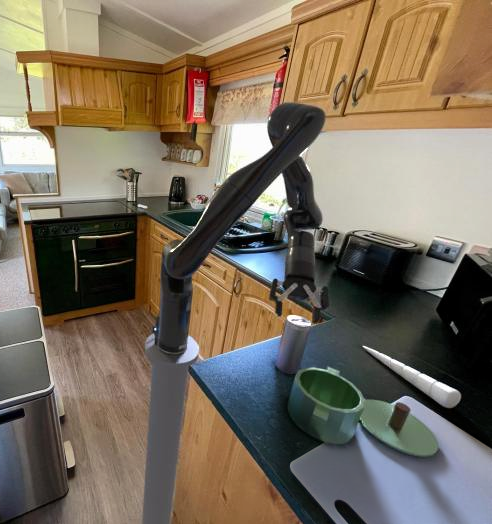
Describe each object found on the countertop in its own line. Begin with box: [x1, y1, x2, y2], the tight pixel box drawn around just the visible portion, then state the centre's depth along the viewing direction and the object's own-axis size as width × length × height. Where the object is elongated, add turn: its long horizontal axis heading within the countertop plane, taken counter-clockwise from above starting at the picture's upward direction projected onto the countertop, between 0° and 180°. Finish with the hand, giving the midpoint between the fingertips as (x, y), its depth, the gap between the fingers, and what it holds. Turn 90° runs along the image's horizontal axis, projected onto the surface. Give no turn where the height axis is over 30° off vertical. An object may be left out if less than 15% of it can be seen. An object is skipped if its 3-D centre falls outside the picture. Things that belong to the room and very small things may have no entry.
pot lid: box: [359, 399, 439, 458], centre depth 61 cm, size 14×14×6 cm
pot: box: [287, 366, 366, 445], centre depth 63 cm, size 13×18×8 cm
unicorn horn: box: [362, 345, 462, 409], centre depth 78 cm, size 5×24×5 cm, turn 6°
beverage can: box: [274, 314, 312, 375], centre depth 77 cm, size 6×6×15 cm
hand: (296, 319), depth 77 cm, fingers open, 8 cm apart
